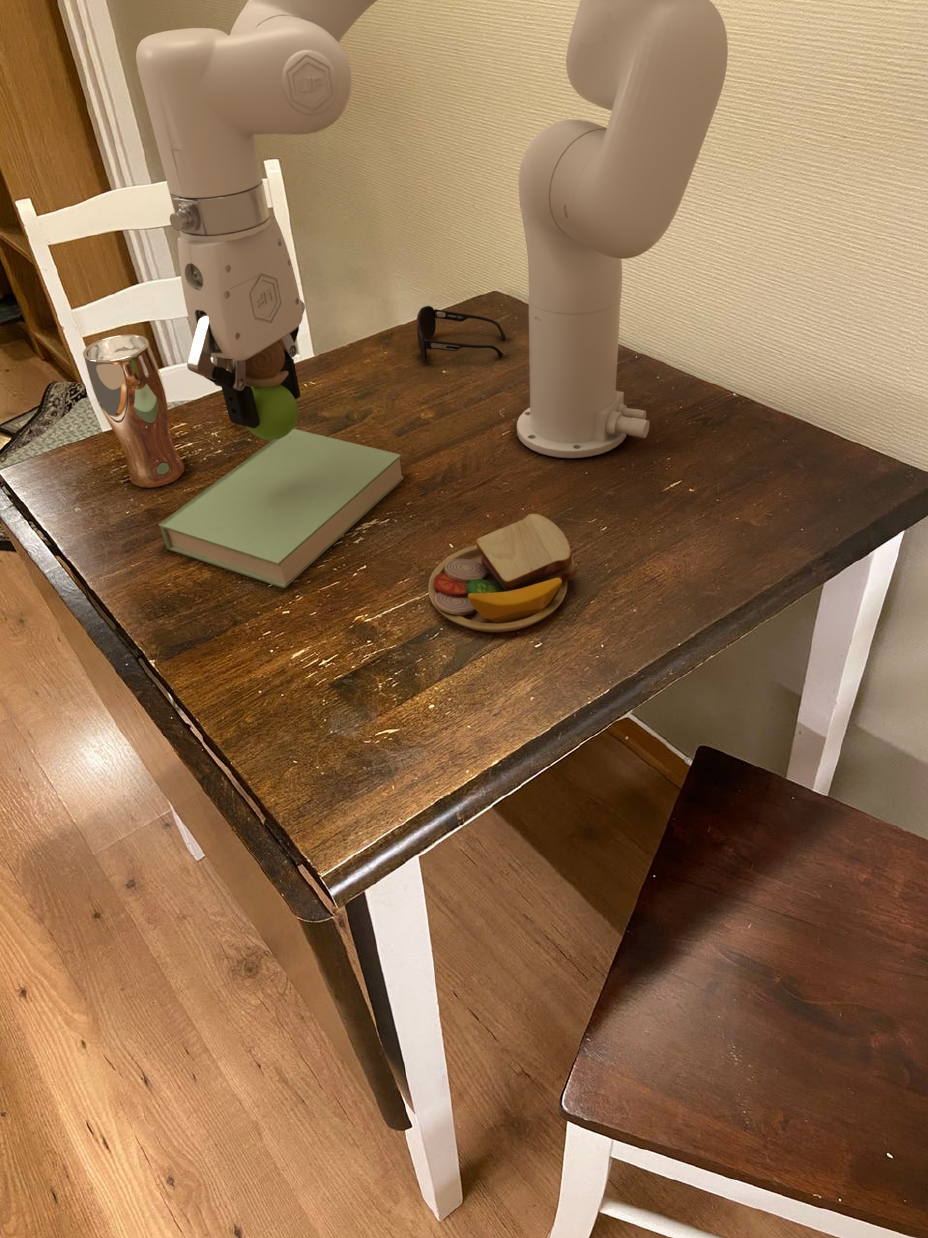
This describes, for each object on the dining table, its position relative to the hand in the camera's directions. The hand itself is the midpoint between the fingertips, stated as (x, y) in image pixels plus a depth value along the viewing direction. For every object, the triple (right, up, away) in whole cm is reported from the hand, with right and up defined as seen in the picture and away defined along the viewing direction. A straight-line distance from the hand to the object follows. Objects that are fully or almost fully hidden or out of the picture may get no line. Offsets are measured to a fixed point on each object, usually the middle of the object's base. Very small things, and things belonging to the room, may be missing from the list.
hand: (265, 408), depth 84 cm
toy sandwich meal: (+22, -18, -4) cm, 29 cm away
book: (+1, -9, +8) cm, 12 cm away
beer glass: (-16, -4, +16) cm, 22 cm away
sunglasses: (+19, +17, +36) cm, 44 cm away
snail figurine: (0, -2, +2) cm, 3 cm away
